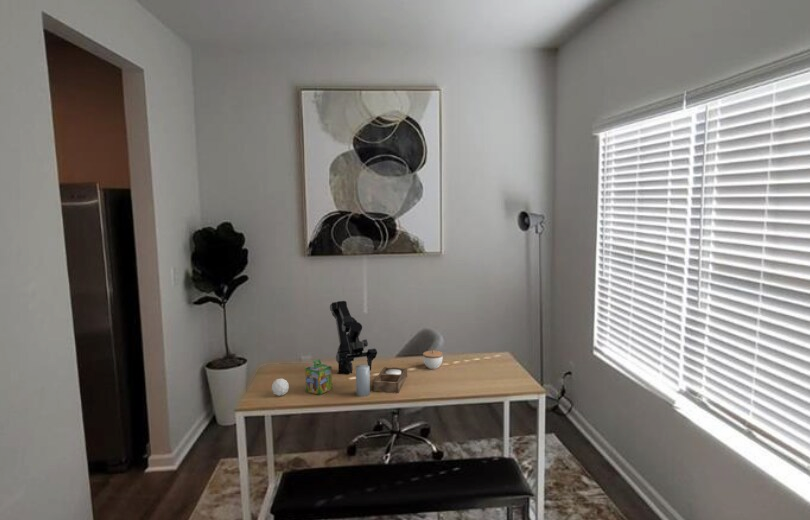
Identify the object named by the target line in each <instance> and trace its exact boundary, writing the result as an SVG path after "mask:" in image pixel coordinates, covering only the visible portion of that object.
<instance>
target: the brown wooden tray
mask: <svg viewBox="0 0 810 520" xmlns="http://www.w3.org/2000/svg"><path fill="white" fill-rule="evenodd" d="M390 369H398V370H401V375H398V374H386V371H387V370H390ZM407 378H408V367H398V366H396V367H394V366H383V368H382V369H381V371H380V372H379V373H378V375H377V376H376V377H375V379H374V381H373V392H377V391H380V393H394V392H395V393H397V394H399V393H400V392H401V389H402V388H403V385H404V384H405V381H406V380H407Z"/></svg>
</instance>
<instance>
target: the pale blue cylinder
mask: <svg viewBox="0 0 810 520" xmlns="http://www.w3.org/2000/svg"><path fill="white" fill-rule="evenodd" d="M370 379H371V373H370V367H369V366H368V364H358V365H356V366H355V389H356V391H355V394H356V396H358V397H360V398H361V396H362V397H364V396H365V397H368V396H370V395H371V380H370Z"/></svg>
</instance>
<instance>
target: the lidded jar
mask: <svg viewBox="0 0 810 520" xmlns="http://www.w3.org/2000/svg"><path fill="white" fill-rule="evenodd" d="M422 356H423V357H422V358H423V360H422V361H423V363H424V365H425V366H426V367H427V369H429V370H437V369H439V368H438V367H440V366H441V365H442V363H443V358H444V357H443V352H442V351H438V350H434V349H433V350H426V351H424V352H423V354H422Z"/></svg>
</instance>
